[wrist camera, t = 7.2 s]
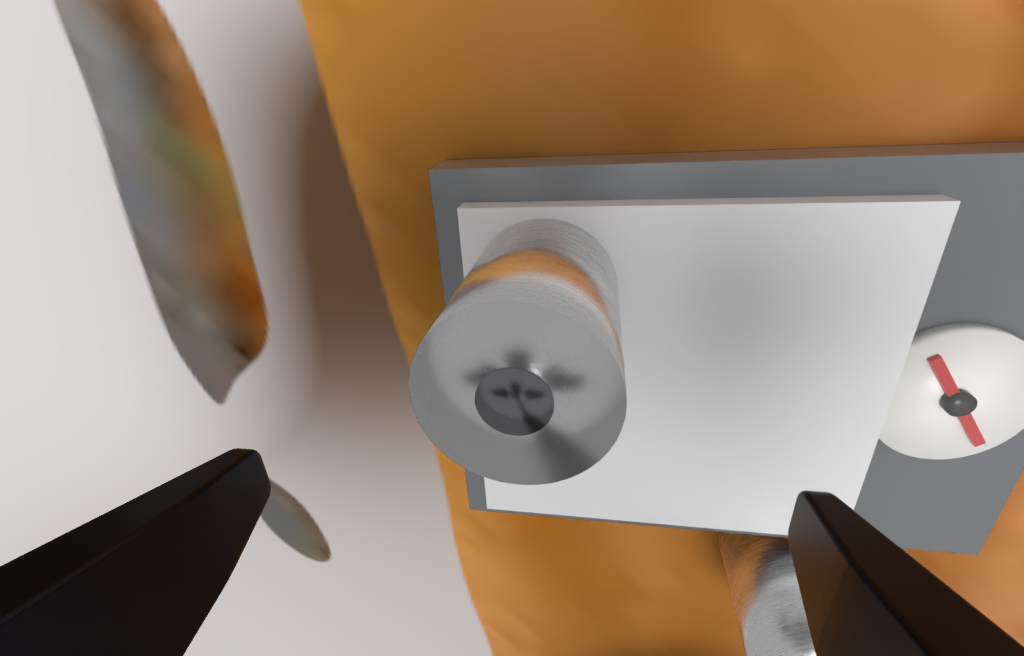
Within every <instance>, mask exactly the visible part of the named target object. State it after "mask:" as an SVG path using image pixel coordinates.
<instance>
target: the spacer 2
mask: <svg viewBox="0 0 1024 656" xmlns="http://www.w3.org/2000/svg"><path fill="white" fill-rule="evenodd" d="M719 547H720V551H721V555H722V559H723V563H724V567H725V571H726V575H727V579H728V583H729V587H730V591H731V595H732V599H733V603H734V607H735V611H736V615H737V619H738V624H739V628H740V632H741V636H742V640H743V644H744V648H745V652H746V656H816V653H815V649H814V646H813V642H812V638H811V634H810V630H809V626H808V622H807V618H806V614H805V610H804V606H803V601H802V597H801V593H800V589H799V585H798V581H797V577H796V572H795V568H794V564H793V560H792V556H791V552H790V548H789V542H788V538H783V537H772V536H761V535H750V534H739V533H727V532H720V534H719Z"/></svg>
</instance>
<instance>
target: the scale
mask: <svg viewBox="0 0 1024 656" xmlns="http://www.w3.org/2000/svg"><path fill="white" fill-rule="evenodd" d="M429 178H430V186H431V194H432V203H433V211H434V219H435V227H436V235H437V244H438V252H439V260H440V268H441V277H442V285H443V293H444V301H445V306H446V305H447V303H448V302H449V300H450V299H451V298H452V296H453V295H454V293H455V292H456V290H457V289H458V287H459V286H460V284H461V283H462V282H463V280H464V279H465V277H466V276H467V274H468V273H469V271H470V270H471V268H472V267H473V266H474V264H475V263H476V261H477V260H478V258H479V257H480V255H481V254H482V252H483V251H484V250H485V248H486V247H487V246H488V244H489V243H490V242H491V241H492V240H493V239H494V238H495V237H496V236H497V235H498V234H499V233H501V232H502V231H504V230H505V229H507V228H509V227H510V226H512V225H514V224H517V223H520V222H523V221H527V220H532V219H543V218H544V219H556V220H561V221H565V222H568V223H571V224H574V225H576V226H578V227H580V228H582V229H583V230H585V231H586V232H588V233H590V234H591V235H592V236H593V237H594V238H595V239H597V240H598V241H599V243H600V244H601V245H602V246H603V247H604V248H605V250H606V251H607V253H608V254H609V256H610V258H611V260H612V262H613V265H614V268H615V271H616V275H617V281H618V293H619V306H620V319H621V331H622V344H623V356H624V369H625V382H626V394H627V409H626V416H625V421H624V424H623V427H622V430H621V433H620V435H619V437H618V439H617V441H616V442H615V444H614V445H613V446H612V448H611V449H610V451H609V452H608V453H607V454H606V455H605V456H604V457H603V458H602V459H601V460H600V461H599V462H597V463H596V464H595V465H593V466H592V467H591V468H589V469H587V470H586V471H584V472H582V473H581V474H578V475H576V476H574V477H571V478H569V479H565V480H562V481H559V482H554V483H548V484H540V485H517V484H510V483H504V482H500V481H495V480H492V479H489V478H486V477H483V476H480V475H478V474H476V473H473V472H471V471H469V470H467V469H465V474H466V482H467V490H468V499H469V507H470V509H471V510H482V511H493V512H504V513H516V514H527V515H538V516H549V517H560V518H571V519H582V520H594V521H605V522H616V523H627V524H638V525H649V526H661V527H672V528H683V529H694V530H705V531H716V532H727V533H739V534H750V535H761V536H772V537H783V538H788V529H789V525H790V521H791V517H792V514H793V510H794V506H795V503H796V499H797V496H798V494H799V493H800V492H801V491H805V490H808V491H821V492H829V493H832V494H834V495H835V496H837V497H838V498H839V499H840V500H842V501H843V502H844V503H845V504H847V505H848V506H849V507H850V508H852V509H853V510H854V511H855V512H857V513H858V514H859V515H860V516H862V517H863V518H864V519H865V520H867V521H868V522H869V523H870V524H872V525H873V526H874V527H875V528H877V529H878V530H879V531H880V532H882V533H883V534H884V535H885V536H886V537H888V538H889V539H890V540H891V541H893V542H894V543H895V544H896V545H898V546H899V547H900V548H906V549H917V550H928V551H939V552H951V553H962V554H973V555H978V554H979V552H980V550H981V549H982V547H983V545H984V543H985V541H986V539H987V537H988V535H989V533H990V532H991V530H992V528H993V526H994V524H995V522H996V520H997V518H998V516H999V514H1000V513H1001V511H1002V509H1003V507H1004V505H1005V503H1006V501H1007V499H1008V497H1009V496H1010V494H1011V492H1012V490H1013V488H1014V486H1015V484H1016V482H1017V480H1018V479H1019V477H1020V475H1021V473H1022V471H1023V469H1024V142H995V143H963V144H932V145H900V146H869V147H837V148H806V149H774V150H743V151H711V152H680V153H648V154H617V155H585V156H554V157H522V158H491V159H459V160H446V161H444V162H442V163H440V164H438V165H436V166H434V167H432V168H431V169H429Z"/></svg>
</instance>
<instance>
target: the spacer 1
mask: <svg viewBox="0 0 1024 656" xmlns="http://www.w3.org/2000/svg"><path fill="white" fill-rule="evenodd" d="M409 393H410V399H411V403H412V407H413V410H414V412H415V415H416V418H417V420H418V422H419V423H420V425H421V427H422V429H423V430H424V432H425V433H426V435H427V436H428V437H429V439H430V440H431V441H432V442H433V443H434V444H435V445H436V447H437V448H438V449H439V450H441V451H442V452H443V453H444V454H445V455H446V456H447V457H449V458H450V459H451V460H453V461H454V462H456V463H457V464H458V465H460V466H462V467H464V468H465V469H467V470H469V471H471V472H473V473H476V474H478V475H480V476H483V477H486V478H489V479H492V480H495V481H500V482H504V483H510V484H517V485H540V484H548V483H554V482H559V481H562V480H565V479H569V478H571V477H574V476H576V475H578V474H581V473H582V472H584V471H586V470H587V469H589V468H591V467H592V466H593V465H595V464H596V463H597V462H599V461H600V460H601V459H602V458H603V457H604V456H605V455H606V454H607V453H608V452H609V451H610V449H611V448H612V446H613V445H614V444H615V442H616V441H617V439H618V437H619V435H620V433H621V430H622V427H623V424H624V421H625V416H626V409H627V394H626V382H625V369H624V356H623V344H622V331H621V319H620V306H619V293H618V281H617V275H616V271H615V268H614V265H613V262H612V260H611V258H610V256H609V254H608V253H607V251H606V250H605V248H604V247H603V246H602V245H601V244H600V243H599V241H598V240H597V239H595V238H594V237H593V236H592V235H591V234H590V233H588V232H586V231H585V230H583V229H582V228H580V227H578V226H576V225H574V224H571V223H568V222H565V221H561V220H556V219H544V218H543V219H532V220H527V221H523V222H520V223H517V224H514V225H512V226H510V227H509V228H507V229H505V230H504V231H502V232H501V233H499V234H498V235H497V236H496V237H495V238H494V239H493V240H492V241H491V242H490V243H489V244H488V246H487V247H486V248H485V250H484V251H483V252H482V254H481V255H480V257H479V258H478V260H477V261H476V263H475V264H474V266H473V267H472V268H471V270H470V271H469V273H468V274H467V276H466V277H465V279H464V280H463V282H462V283H461V284H460V286H459V287H458V289H457V290H456V292H455V293H454V295H453V296H452V298H451V299H450V300H449V302H448V303H447V305H446V306H445V308H444V309H443V311H442V312H441V313H440V315H439V316H438V318H437V319H436V321H435V322H434V324H433V325H432V327H431V328H430V329H429V331H428V332H427V334H426V335H425V337H424V338H423V340H422V341H421V343H420V345H419V346H418V348H417V350H416V352H415V355H414V357H413V360H412V363H411V368H410V373H409Z"/></svg>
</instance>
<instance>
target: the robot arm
mask: <svg viewBox="0 0 1024 656" xmlns="http://www.w3.org/2000/svg"><path fill="white" fill-rule="evenodd" d="M270 491H271V484H270V480H269V478H268V475H267V472H266V469H265V466H264V464H263V461H262V458H261V455H260V454H259V453H258V452H257V451H255V450H252V449H239V448H238V449H232V450H230V451H228V452H226V453H224V454H222V455H220V456H218V457H216V458H214V459H212V460H210V461H208V462H206V463H204V464H202V465H200V466H198V467H196V468H194V469H192V470H190V471H188V472H186V473H184V474H182V475H180V476H178V477H176V478H174V479H172V480H170V481H168V482H166V483H164V484H162V485H161V486H159V487H156V488H154V489H152V490H150V491H148V492H146V493H144V494H143V495H141V496H139V497H137V498H135V499H133V500H131V501H129V502H127V503H125V504H123V505H121V506H119V507H117V508H115V509H113V510H111V511H109V512H107V513H105V514H103V515H101V516H99V517H97V518H95V519H93V520H91V521H89V522H87V523H85V524H83V525H81V526H79V527H77V528H75V529H73V530H71V531H70V532H67V533H65V534H63V535H61V536H59V537H57V538H56V539H54V540H52V541H50V542H48V543H46V544H44V545H42V546H40V547H38V548H36V549H34V550H32V551H30V552H28V553H26V554H24V555H22V556H20V557H18V558H16V559H14V560H12V561H10V562H8V563H6V564H4V565H2V566H0V656H183V655H184V653H185V652H186V650H187V648H188V647H189V645H190V643H191V641H192V640H193V638H194V636H195V635H196V633H197V632H198V630H199V628H200V626H201V625H202V623H203V622H204V620H205V618H206V617H207V615H208V613H209V612H210V610H211V608H212V607H213V605H214V603H215V602H216V600H217V598H218V597H219V595H220V593H221V592H222V590H223V588H224V587H225V585H226V583H227V581H228V580H229V577H230V576H231V574H232V572H233V570H234V568H235V566H236V564H237V562H238V560H239V558H240V556H241V554H242V552H243V550H244V548H245V546H246V544H247V542H248V540H249V537H250V535H251V533H252V531H253V529H254V527H255V525H256V523H257V521H258V519H259V517H260V515H261V513H262V511H263V509H264V507H265V505H266V503H267V501H268V498H269V495H270ZM788 542H789V548H790V552H791V556H792V560H793V564H794V568H795V572H796V577H797V581H798V585H799V589H800V593H801V597H802V601H803V606H804V610H805V614H806V618H807V622H808V626H809V630H810V634H811V638H812V642H813V646H814V649H815V653H816V656H1024V647H1023V646H1022V645H1021V644H1020V643H1018V642H1017V641H1016V640H1015V639H1013V638H1012V637H1011V636H1010V635H1008V634H1007V633H1006V632H1005V631H1003V630H1002V629H1001V628H1000V627H998V626H997V625H996V624H995V623H994V622H992V621H991V620H990V619H989V618H987V617H986V616H985V615H984V614H982V613H981V612H980V611H979V610H977V609H976V608H975V607H974V606H972V605H971V604H970V603H969V602H967V601H966V600H965V599H964V598H962V597H961V596H960V595H959V594H957V593H956V592H955V591H954V590H952V589H951V588H950V587H949V586H947V585H946V584H945V583H944V582H942V581H941V580H940V579H939V578H938V577H936V576H935V575H934V574H933V573H931V572H930V571H929V570H928V569H926V568H925V567H924V566H923V565H921V564H920V563H919V562H918V561H916V560H915V559H914V558H913V557H911V556H910V555H909V554H908V553H906V552H905V551H904V550H903V549H901V548H900V547H899V546H898V545H896V544H895V543H894V542H893V541H891V540H890V539H889V538H888V537H886V536H885V535H884V534H883V533H882V532H880V531H879V530H878V529H877V528H875V527H874V526H873V525H872V524H870V523H869V522H868V521H867V520H865V519H864V518H863V517H862V516H860V515H859V514H858V513H857V512H855V511H854V510H853V509H852V508H850V507H849V506H848V505H847V504H845V503H844V502H843V501H842V500H840V499H839V498H838V497H837V496H835V495H834V494H832V493H829V492H821V491H808V490H805V491H801V492H800V493H799V494H798V496H797V499H796V503H795V506H794V510H793V514H792V517H791V521H790V525H789V529H788Z"/></svg>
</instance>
